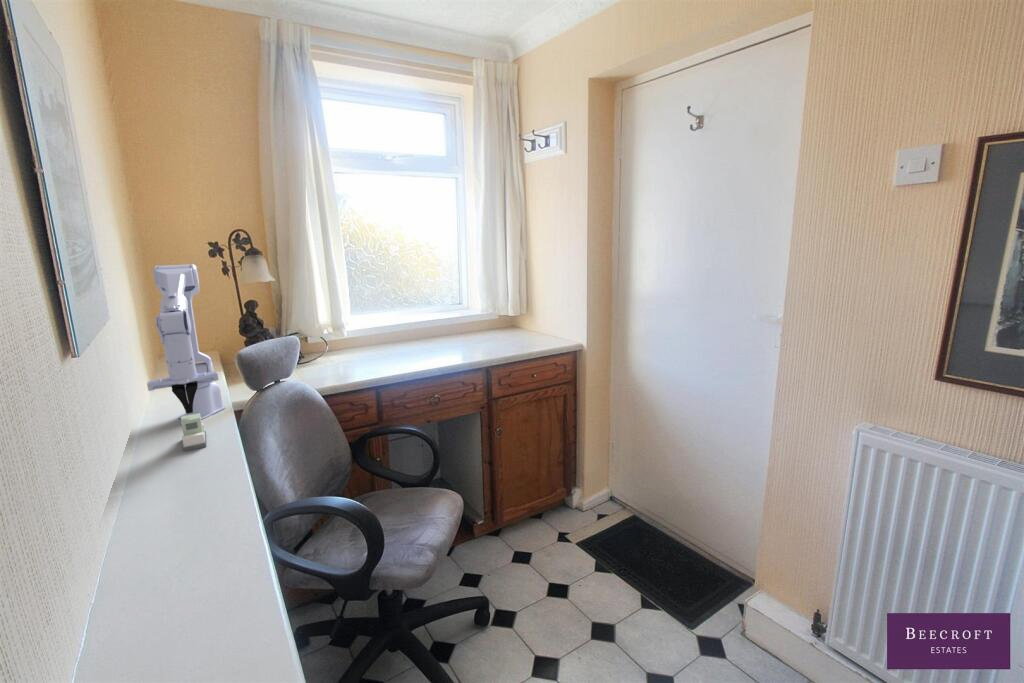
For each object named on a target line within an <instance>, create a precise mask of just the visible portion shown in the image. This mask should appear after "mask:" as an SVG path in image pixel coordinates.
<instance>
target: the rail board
mask: <svg viewBox="0 0 1024 683" xmlns="http://www.w3.org/2000/svg"><path fill="white" fill-rule="evenodd" d="M202 427H203V432H200V433H195V434H190V435H185V436H184V435H182V436H181V440H182V451H183V452H189V451H193V450H198V449H202V448H206V447H207V430H205V426H204V422H202Z"/></svg>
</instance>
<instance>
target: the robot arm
mask: <svg viewBox="0 0 1024 683" xmlns="http://www.w3.org/2000/svg"><path fill="white" fill-rule="evenodd" d="M152 273H153V279H154V283H155V284H154V285H155V286H156V287H157V290H158V291H159V293H160V294H161V295H162V297H161V298H160V302H159V305H160V306H159V314H157V315H156V316H155V326H156V331H157V333H158V335H159V339H160V343H161V345H162V346H163V352H164V356H165V362H166V367H167V373H168V377H165V378H164V377H163V378H160V379H159V378H158V379H154V380H149V381H148V380H147V383H146V385H147V390H148V392H151V391H154V390H159V389H165V388H171V391H172V393H173V394H174V396H176V398H177V399H178V400H179V402H180V403H181V405H182V407H183V408H184V411H185V413H184V414H182V415H179V416H178V419H181V416H186V415H192V414H198V413H200V416H201V420H204V419H206V418H208V417H210V416H212V415H214V414H217V413H219V412H220V411H222V410H225V409H226V406H224V405H223V400H222V393H221V389H220V385H218V383H217V382H218V381H219V375H218V374H219V373H218V371H214V369H215V368H214V365H213V361H212V358H211V357H210V356H209V354H208V355H207V354H206V353H203V352H201V351H200V349H199V342H198V335H197V330H196V329H197V328H196V323H195V322H196V321H195V315H194V309H193V297H194V296H195V295H198V294H199V293H200V289H201V288H200V282H199V280H200V279H199V278H200V277H199V274H198V267H197V265H195V264H194V263H191V264H170V265H168V264H167V265H155V266H154V267H153V269H152ZM198 362H199V363H198ZM216 381H217V382H216Z"/></svg>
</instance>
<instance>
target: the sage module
mask: <svg viewBox="0 0 1024 683" xmlns="http://www.w3.org/2000/svg"><path fill="white" fill-rule="evenodd" d="M180 416H181V415H180ZM202 423H203V422H202V419H201V416H200V413H198V414H192V415H186V416H181V418H180V424H181V429H182V434H183V435H182V436H185V435H190V434H195V433H200V432H203V427H202Z"/></svg>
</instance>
